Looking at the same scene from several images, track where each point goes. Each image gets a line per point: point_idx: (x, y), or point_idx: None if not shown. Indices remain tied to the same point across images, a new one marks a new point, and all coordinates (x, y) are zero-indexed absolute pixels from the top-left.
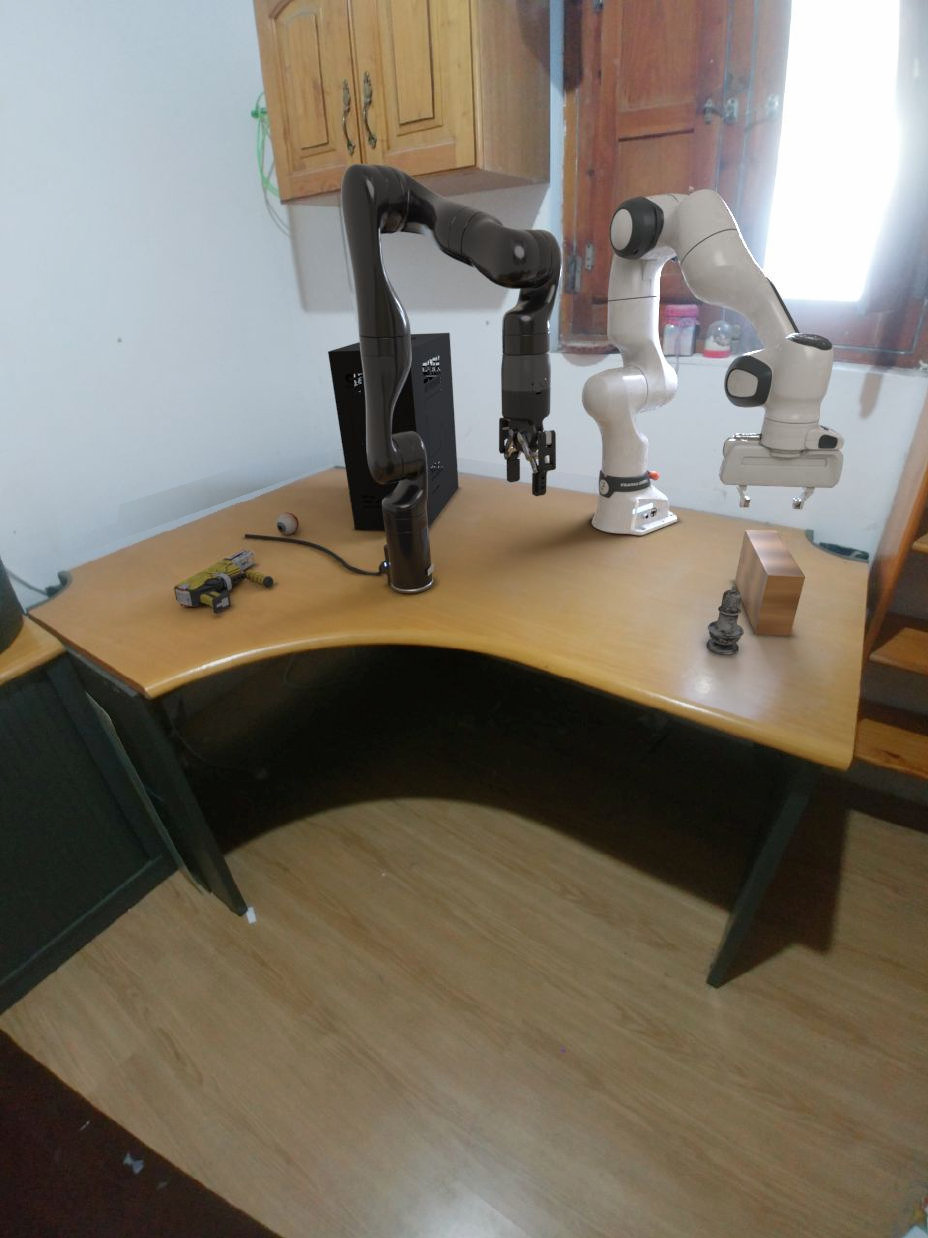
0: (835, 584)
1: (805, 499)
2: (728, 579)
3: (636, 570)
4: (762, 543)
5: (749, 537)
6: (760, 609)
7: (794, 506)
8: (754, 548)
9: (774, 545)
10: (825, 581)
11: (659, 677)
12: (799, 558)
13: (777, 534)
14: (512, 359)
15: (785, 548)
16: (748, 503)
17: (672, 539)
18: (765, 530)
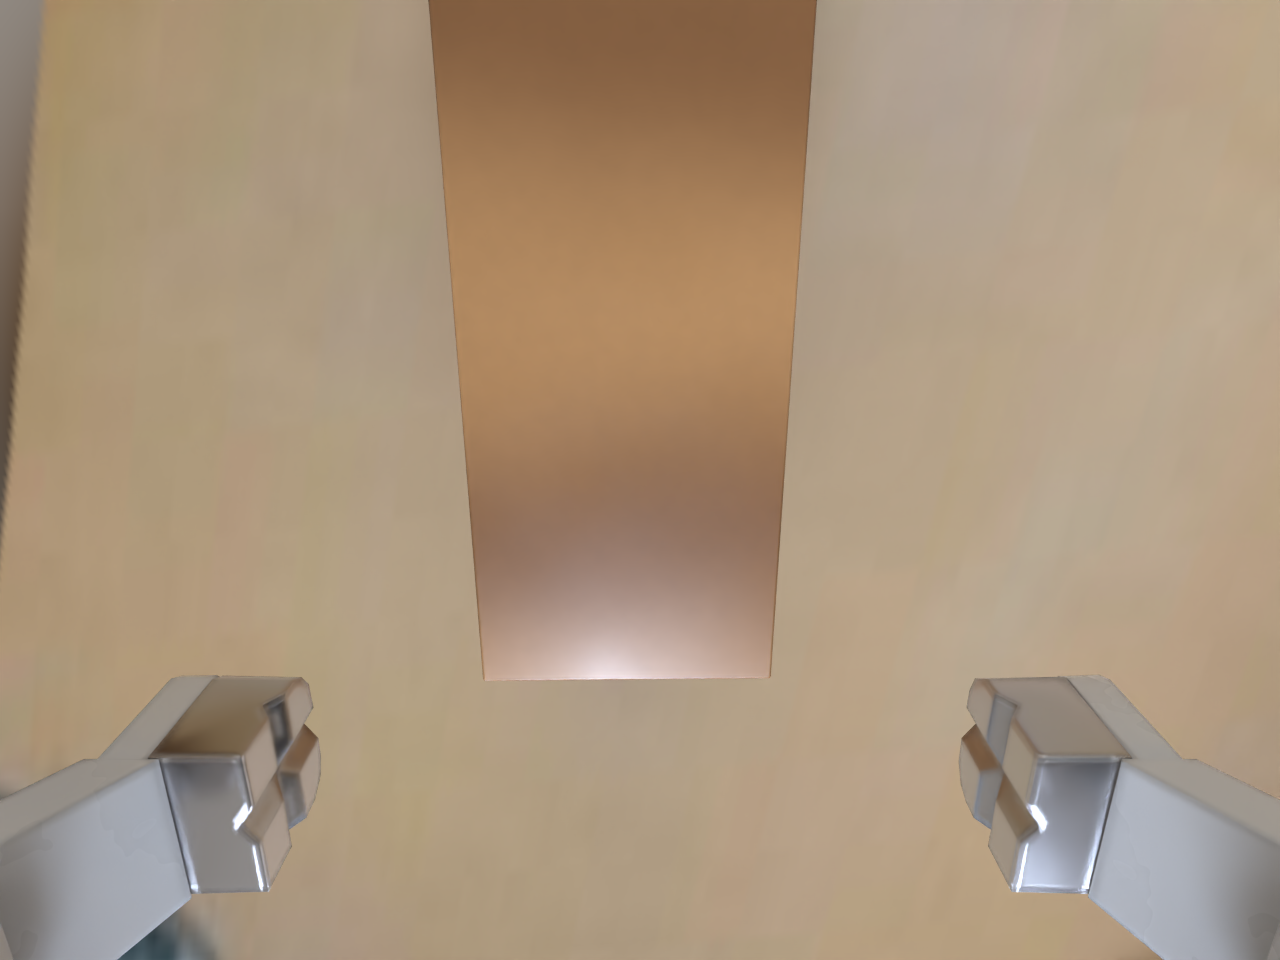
0: (127, 502)
1: (65, 775)
2: None
3: (1270, 566)
4: (685, 339)
5: (778, 491)
6: None
7: (286, 697)
8: (803, 189)
9: (572, 292)
10: (181, 534)
11: None
12: None
13: (490, 585)
14: None
15: (470, 214)
16: (1021, 710)
17: (942, 949)
18: (586, 669)
